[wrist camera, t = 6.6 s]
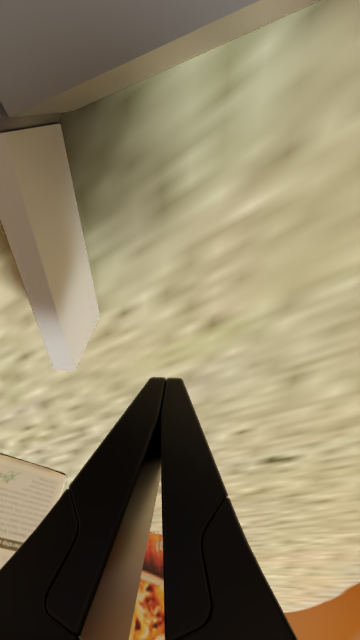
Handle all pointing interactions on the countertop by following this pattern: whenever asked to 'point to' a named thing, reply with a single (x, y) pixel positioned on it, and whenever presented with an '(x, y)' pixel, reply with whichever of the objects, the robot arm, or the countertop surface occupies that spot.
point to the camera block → (110, 44)
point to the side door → (47, 234)
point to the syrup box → (24, 501)
